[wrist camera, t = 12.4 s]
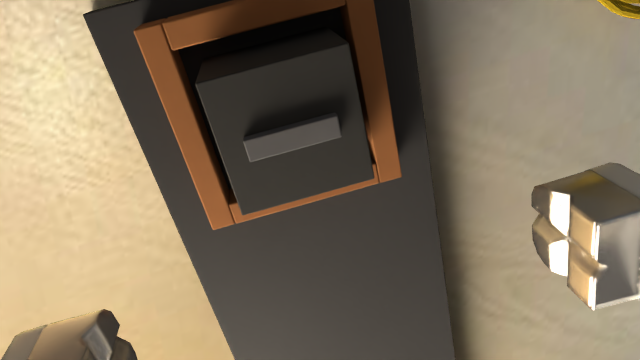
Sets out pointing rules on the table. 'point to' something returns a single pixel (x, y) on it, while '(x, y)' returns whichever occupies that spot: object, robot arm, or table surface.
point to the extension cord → (623, 7)
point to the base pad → (302, 215)
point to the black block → (286, 118)
